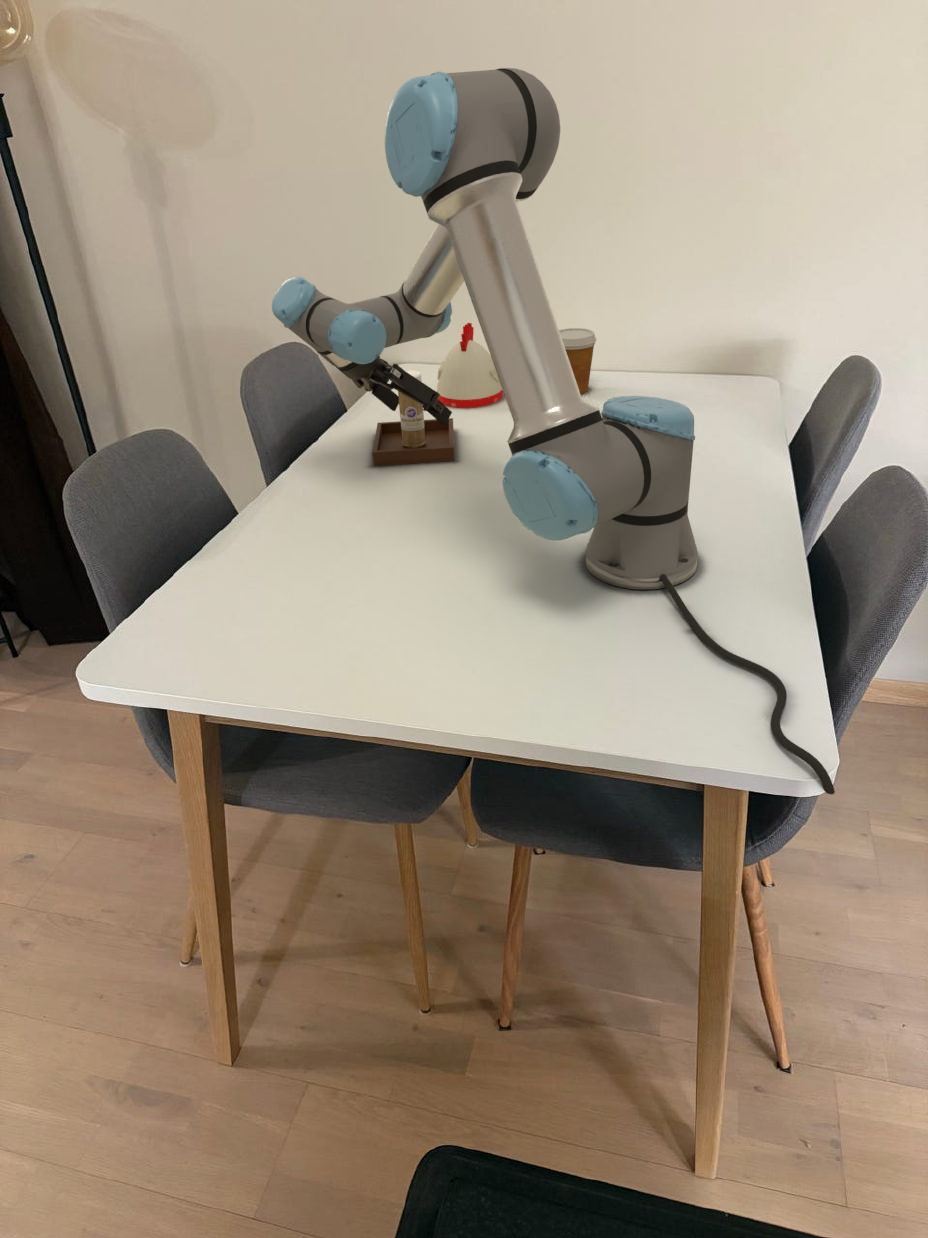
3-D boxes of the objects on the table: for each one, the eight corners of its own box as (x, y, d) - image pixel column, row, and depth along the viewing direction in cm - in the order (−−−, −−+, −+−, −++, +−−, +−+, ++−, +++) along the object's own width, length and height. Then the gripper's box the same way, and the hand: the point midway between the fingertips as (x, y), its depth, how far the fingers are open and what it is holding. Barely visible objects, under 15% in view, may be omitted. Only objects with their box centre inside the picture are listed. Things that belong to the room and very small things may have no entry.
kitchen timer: (508, 387, 197) (506, 316, 189) (494, 408, 185) (491, 334, 178) (447, 385, 200) (442, 316, 192) (430, 406, 189) (424, 333, 181)
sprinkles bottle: (405, 450, 166) (398, 378, 159) (399, 442, 170) (392, 371, 163) (429, 446, 167) (423, 374, 160) (423, 438, 171) (417, 368, 164)
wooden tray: (454, 460, 162) (453, 447, 161) (373, 465, 163) (372, 452, 161) (453, 430, 176) (452, 417, 174) (379, 435, 176) (377, 422, 174)
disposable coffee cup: (542, 388, 195) (541, 332, 188) (580, 380, 198) (581, 324, 191) (564, 400, 187) (565, 342, 181) (604, 392, 190) (605, 334, 184)
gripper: (410, 339, 143) (479, 405, 160) (313, 319, 158) (385, 382, 175) (388, 381, 142) (460, 443, 159) (293, 357, 158) (368, 416, 175)
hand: (421, 411), depth 167 cm, fingers open, 13 cm apart
